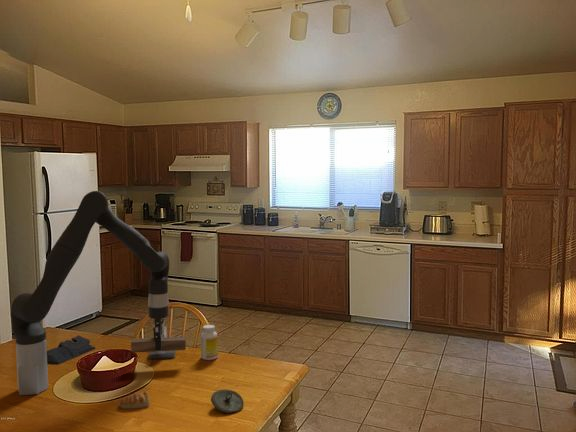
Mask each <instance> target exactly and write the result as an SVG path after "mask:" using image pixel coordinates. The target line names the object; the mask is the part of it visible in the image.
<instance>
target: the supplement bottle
mask: <svg viewBox="0 0 576 432" xmlns="http://www.w3.org/2000/svg"><path fill="white" fill-rule="evenodd" d="M215 328H216V327H215V325H214V324H206V325H203V326H202V330H203V332H201V334H200V356H201V359H202V360H205V361H211V360H215V359H217V358H218V356H219V355H218V354H219V351H218V350H219V348H218V347H219V345H218V333H217V331H215V330H216V329H215Z"/></svg>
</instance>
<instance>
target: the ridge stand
mask: <svg viewBox="0 0 576 432" xmlns="http://www.w3.org/2000/svg"><path fill="white" fill-rule="evenodd" d="M162 337H163V338H164V337H167V326H164V332H163V336H162ZM176 351H177V350H176ZM176 351H156V352H155V351H154V352H149V353H148V360H157V359H174V358H176Z"/></svg>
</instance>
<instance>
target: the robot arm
mask: <svg viewBox="0 0 576 432" xmlns="http://www.w3.org/2000/svg"><path fill="white" fill-rule="evenodd" d="M95 224H98V226H99V225H100V226H101V227H102V228H104V229H105V230H107V231H108V232H109V233H111V234H112V235H113V236H114V237H115V238H116V239H117V240H119V241H120V242H121V243H122V244H123V246H125V247H126V248H127V249H129V251H131V252H132V253H133V254H134V255H136V256H137V258H138V259H139V261H140V262H141V263H142V264H143V266H144V267H145V268H146V269H147V270H148V271H151V272H150V274H151V275H150V278H149V280H148V296H147V297H148V298H147V300H148V303H147V305H148V307H147V308H148V309H147V310H148V311H147V312H148V313H147V314H148V316H147V317H148V318H149V319H151V320H152V319H153V323H152V327H153V328H152V330H153V334H152V335H153V338H154V341H155V350H156V351H161V340H162V336H163V332H164V327H165V319H166V318H168V317H169V313H170V312H169V311H170V309H169V304H170V303H169V302H170V301H169V291H168V290H169V288H168V286H169V284H168V277H169V272H170V258H169V255H168V254H167V253H166V252H164V251H156V250H155V249H154V248H153V247H152V246H151V242H150V241H149V240H148V239H147V238H146V237H145V236H143V234H142V233H140V232H139V231H138V230H137V229H135V228H134V227H133V226H131V225H129V224H127V223H125V222H124V221H123V220H121V219H120V218H119V217H117V215H116V214H114V212H113V211H112V210H111V209H110V207H109V200H108V197H107V196H106V194H105V193H103V192H101V191H99V190H93V191H90V192H88V193H86V194H85V195H84V196H83V197H82V200H81V202H80V203H79V206H78V207H77V210H76V212H75V214H74V215H73V217H72V219H71V220H70V222H69V224H68V225H67V226H66V228H65V229H64V230H63V232H62V233H61V235H60V236H59V237H58V239H57V240H56V242H55V243H54V245H53V247H52V248H51V250H50V251H49V253H48V255H47V257H46V260H45V264H44V265H45V266H44V269H43V270H44V271H43V274H42V278H41V281H40V282H39V284H38V285H37V287H36V289H35V290H34V291H33V293H32V292H31V293H29V292H25V293H21V294H19V295H17V296H16V297H14V300H13V301H12V303H11V308H10V309H11V310H10V316H11V326H12V334H13V336H14V338H15V351H16V354H15V355H16V373H17V374H16V375H17V390H18V396H28V395H39V394H40V393H41V392H44V391H46V390H47V389H48V388H49V375H48V372H49V369H48V362H47V351H48V350H47V348H48V347H47V332H46V330H45V328H44V326H43V325H42V323H41V321H43V320H44V319H45V318H46V317H47V316H48V314H49V312H50V311H51V308H52V306H53V304H54V302H55V300H56V297H57V295H58V293H59V291H60V289H61V287H62V286H63V284H64V282H65V280H66V279H67V277H68V275H69V274H70V272H71V270H72V269H73V267H74V266H75V264H76V263H77V261H78V260H79V258H80V256H81V254H82V253H83V250H84V247H85V245H86V243H87V240H88V237H89V235H90V232H91V230H92V229H93V227H94V225H95Z"/></svg>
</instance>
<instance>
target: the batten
mask: <svg viewBox="0 0 576 432" xmlns="http://www.w3.org/2000/svg"><path fill="white" fill-rule="evenodd" d="M186 348H187V336H169V337H164V338H163V337H162V340H161V351H186ZM154 351H155V352H156V350H155V341H154V337H144V338H142V337H141V338H132V340H131V341H130V352H132V353H148V352H154Z"/></svg>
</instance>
